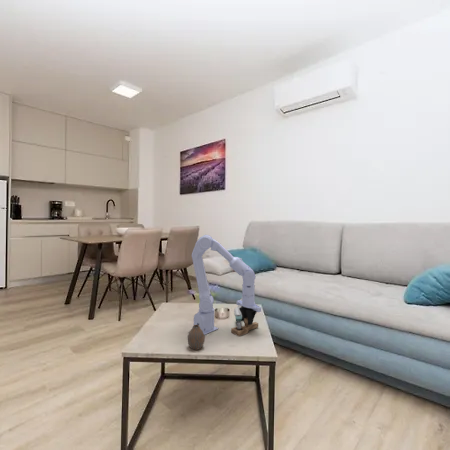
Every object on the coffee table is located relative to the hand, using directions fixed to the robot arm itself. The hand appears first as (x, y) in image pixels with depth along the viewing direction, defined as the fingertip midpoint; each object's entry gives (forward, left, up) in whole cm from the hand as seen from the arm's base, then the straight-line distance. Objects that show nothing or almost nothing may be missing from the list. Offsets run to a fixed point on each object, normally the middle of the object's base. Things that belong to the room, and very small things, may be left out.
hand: (248, 323), depth 133 cm
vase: (-29, +5, -3) cm, 29 cm away
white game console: (+14, +15, -3) cm, 21 cm away
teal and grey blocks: (0, +6, -3) cm, 7 cm away
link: (-1, 0, -3) cm, 3 cm away
